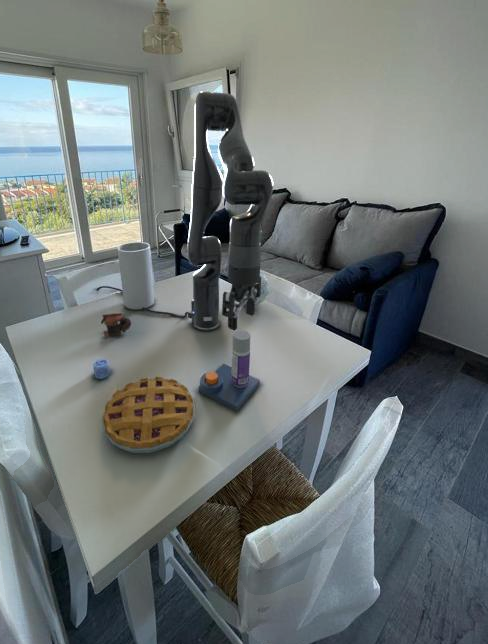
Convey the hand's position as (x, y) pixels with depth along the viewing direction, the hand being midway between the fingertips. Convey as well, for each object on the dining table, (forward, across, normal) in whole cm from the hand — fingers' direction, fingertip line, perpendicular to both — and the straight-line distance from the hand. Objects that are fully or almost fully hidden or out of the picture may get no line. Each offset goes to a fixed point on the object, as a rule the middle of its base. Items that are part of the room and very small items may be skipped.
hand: (241, 321), depth 80 cm
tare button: (+18, +5, -5) cm, 19 cm away
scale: (+21, +2, -2) cm, 21 cm away
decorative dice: (+21, +19, -35) cm, 45 cm away
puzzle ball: (+21, -44, -22) cm, 54 cm away
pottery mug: (+21, +2, -50) cm, 54 cm away
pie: (+21, +22, -11) cm, 33 cm away
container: (+19, 0, 0) cm, 19 cm away
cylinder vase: (+22, -18, -60) cm, 66 cm away
